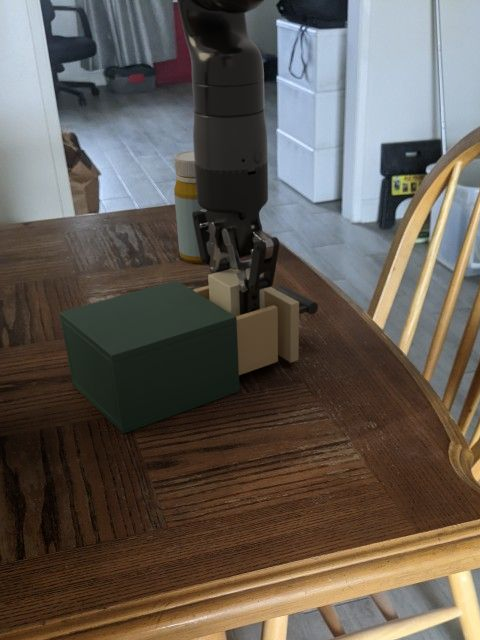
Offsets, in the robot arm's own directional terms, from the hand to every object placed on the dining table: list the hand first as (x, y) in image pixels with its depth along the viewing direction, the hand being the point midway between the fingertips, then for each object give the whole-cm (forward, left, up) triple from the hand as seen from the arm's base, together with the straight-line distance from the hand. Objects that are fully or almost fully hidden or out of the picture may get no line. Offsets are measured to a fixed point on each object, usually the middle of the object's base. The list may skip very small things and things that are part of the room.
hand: (237, 311), depth 90 cm
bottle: (+15, +32, -6) cm, 36 cm away
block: (0, 0, 0) cm, 0 cm away
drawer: (0, 0, -5) cm, 5 cm away
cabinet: (-11, 0, -6) cm, 13 cm away
